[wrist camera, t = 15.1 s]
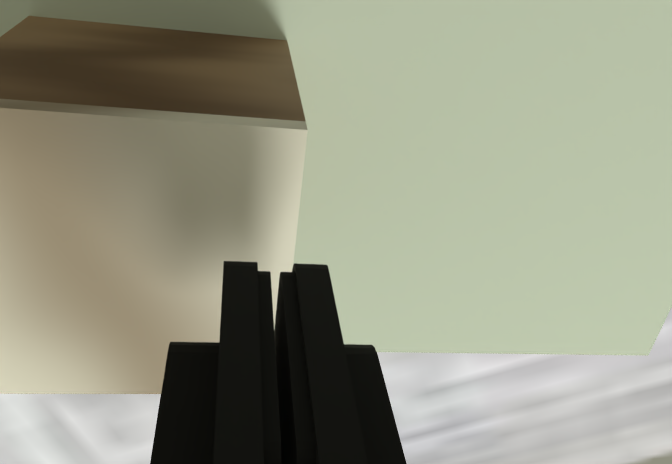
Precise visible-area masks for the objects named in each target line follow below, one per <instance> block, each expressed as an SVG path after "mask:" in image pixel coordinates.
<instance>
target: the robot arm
mask: <svg viewBox="0 0 672 464" xmlns="http://www.w3.org/2000/svg"><path fill="white" fill-rule="evenodd" d="M150 464H406V460H405V457H404V453H403V449H402V445H401V442H400V438H399V434H398V430H397V427H396V423H395V419H394V415H393V412H392V408H391V404H390V400H389V396H388V393H387V389H386V385H385V381H384V378H383V374H382V370H381V366H380V363H379V359H378V355H377V352H376V350H375V347H374V346H373V345H357V344H344V342H343V337H342V332H341V328H340V323H339V318H338V313H337V308H336V303H335V298H334V293H333V288H332V283H331V278H330V273H329V269H328V265H324V264H297V263H294V265H293V268H292V272H280V277H279V287H278V298H277V308H276V318H275V329H274V320H273V304H272V288H271V273H270V271H258V263H257V262H242V261H224V264H223V283H222V302H221V321H220V341H219V342H170V344H169V348H168V353H167V360H166V366H165V372H164V379H163V385H162V392H161V398H160V405H159V411H158V418H157V424H156V430H155V437H154V443H153V450H152V456H151V463H150Z"/></svg>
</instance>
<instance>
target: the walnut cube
mask: <svg viewBox="0 0 672 464" xmlns="http://www.w3.org/2000/svg"><path fill="white" fill-rule="evenodd" d="M307 132H308V129H307V125H306V120H305V116H304V111H303V107H302V103H301V98H300V94H299V90H298V85H297V81H296V77H295V72H294V68H293V63H292V59H291V55H290V50H289V46H288V42H287V40H278V39H267V38H257V37H246V36H236V35H225V34H215V33H204V32H194V31H183V30H173V29H163V28H152V27H142V26H131V25H121V24H110V23H100V22H89V21H79V20H68V19H58V18H47V17H37V16H28V17H27V18H25V19H24V20H22V21H21V22H20V23H18V24H17V25H16V26H14V27H13V28H12V29H10V30H9V31H8V32H6V33H5V34H4V35H2V36H1V37H0V394H161V392H162V385H163V379H164V372H165V366H166V360H167V353H168V348H169V344H170V342H219V341H220V321H221V302H222V283H223V264H224V261H242V262H257V263H258V271H270V273H271V288H272V304H273V320H274V329H275V318H276V308H277V298H278V287H279V277H280V272H292V268H293V262H294V253H295V244H296V235H297V225H298V216H299V207H300V197H301V188H302V179H303V170H304V160H305V151H306V142H307Z"/></svg>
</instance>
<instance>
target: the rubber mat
mask: <svg viewBox="0 0 672 464" xmlns="http://www.w3.org/2000/svg"><path fill="white" fill-rule="evenodd" d="M28 16H37V17H47V18H58V19H68V20H79V21H89V22H100V23H110V24H121V25H131V26H142V27H152V28H163V29H173V30H183V31H194V32H204V33H215V34H225V35H236V36H246V37H257V38H267V39H278V40H287V42H288V46H289V50H290V55H291V59H292V63H293V68H294V72H295V77H296V81H297V85H298V90H299V94H300V98H301V103H302V107H303V111H304V116H305V120H306V125H307V129H308V132H307V142H306V151H305V160H304V170H303V179H302V188H301V197H300V207H299V216H298V225H297V235H296V244H295V253H294V262H293V265H294V263H297V264H324V265H328V269H329V273H330V278H331V283H332V288H333V293H334V298H335V303H336V308H337V313H338V318H339V323H340V328H341V332H342V337H343V342H344V344H357V345H373V346H374V347H375V350H376V352H421V353H498V354H576V355H649V353H650V351H651V349H652V346H653V344H654V342H655V340H656V338H657V336H658V334H659V332H660V330H661V328H662V326H663V324H664V322H665V319H666V317H667V315H668V313H669V311H670V309H671V307H672V0H0V37H1V36H2V35H4V34H5V33H6V32H8V31H9V30H10V29H12V28H13V27H14V26H16V25H17V24H18V23H20V22H21V21H22V20H24V19H25V18H27V17H28Z"/></svg>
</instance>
